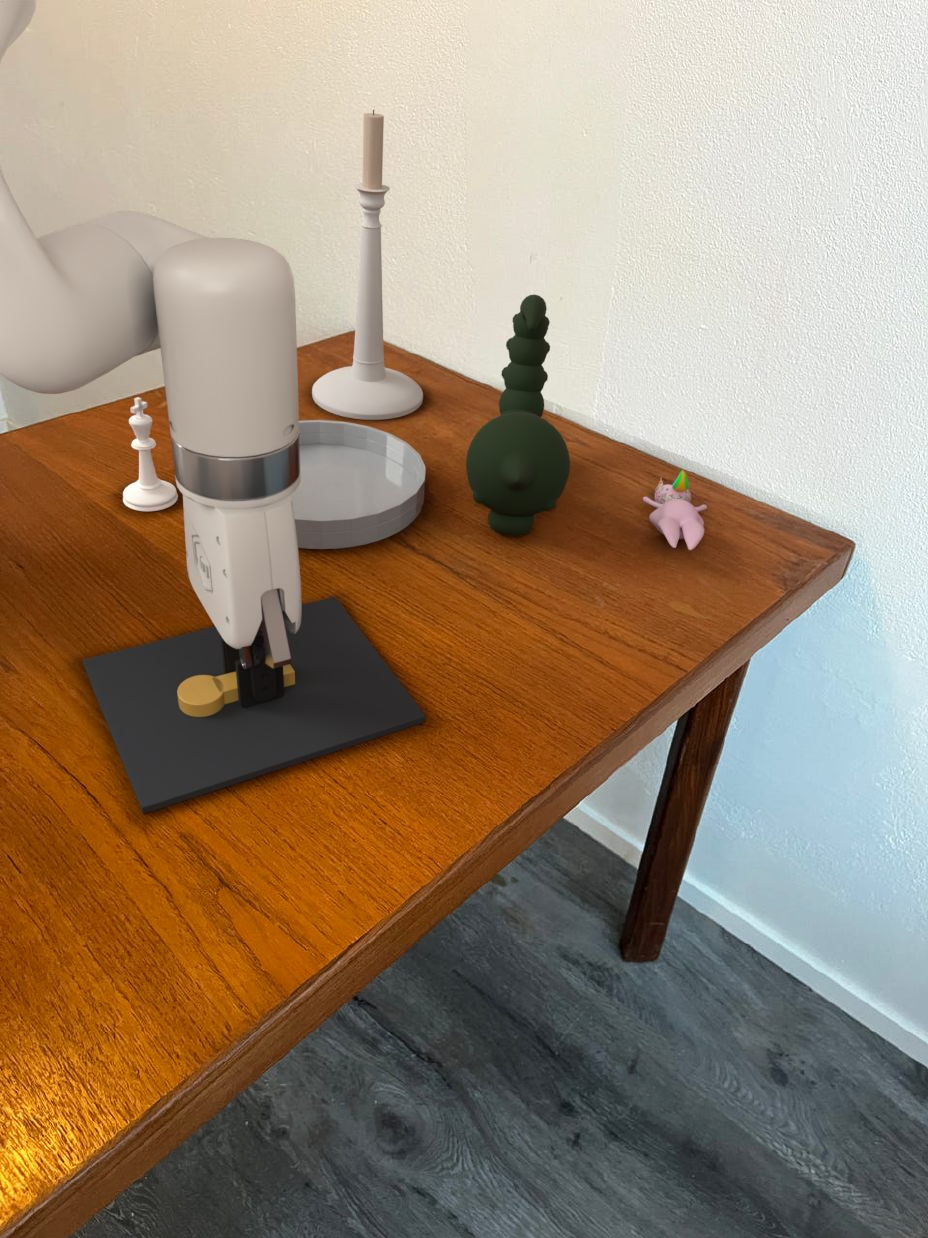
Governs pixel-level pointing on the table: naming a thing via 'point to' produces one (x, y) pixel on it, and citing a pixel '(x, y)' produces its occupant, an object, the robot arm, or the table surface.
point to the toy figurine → (520, 435)
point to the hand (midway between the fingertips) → (254, 686)
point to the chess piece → (146, 468)
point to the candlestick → (369, 314)
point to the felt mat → (245, 737)
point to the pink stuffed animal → (677, 513)
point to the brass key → (214, 692)
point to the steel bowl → (354, 485)
